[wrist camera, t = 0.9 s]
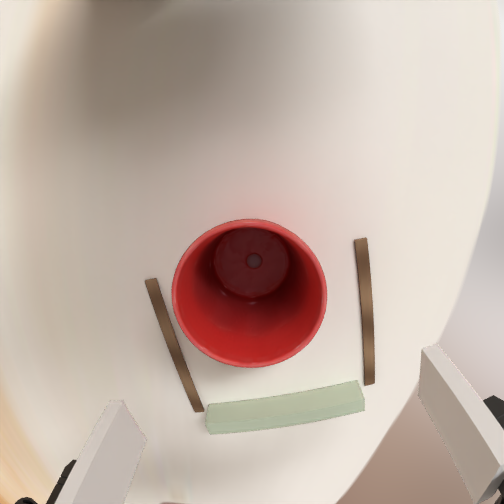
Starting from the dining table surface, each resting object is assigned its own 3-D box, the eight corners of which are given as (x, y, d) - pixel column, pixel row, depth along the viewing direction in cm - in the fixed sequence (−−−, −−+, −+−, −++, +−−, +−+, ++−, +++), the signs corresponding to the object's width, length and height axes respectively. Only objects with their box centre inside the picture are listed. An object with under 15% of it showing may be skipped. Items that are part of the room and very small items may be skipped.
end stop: (209, 404, 35) (204, 423, 32) (357, 379, 34) (364, 398, 31) (213, 415, 36) (209, 434, 33) (357, 391, 34) (364, 410, 31)
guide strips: (145, 280, 31) (144, 280, 31) (366, 237, 29) (366, 238, 29) (195, 410, 36) (195, 412, 36) (374, 381, 34) (374, 383, 34)
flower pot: (319, 213, 29) (346, 237, 20) (294, 319, 32) (305, 377, 23) (206, 192, 29) (179, 207, 19) (191, 301, 32) (166, 354, 22)
